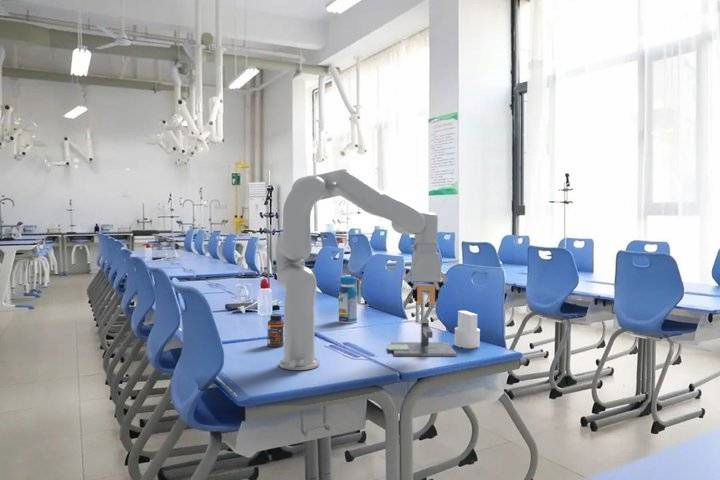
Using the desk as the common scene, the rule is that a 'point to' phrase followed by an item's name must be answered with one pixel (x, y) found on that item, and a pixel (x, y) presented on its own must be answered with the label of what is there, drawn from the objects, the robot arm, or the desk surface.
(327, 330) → the desk surface
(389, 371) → the desk surface
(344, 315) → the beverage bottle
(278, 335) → the supplement bottle
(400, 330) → the desk surface
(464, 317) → the cylinder with rectangular tab
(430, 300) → the orange staple
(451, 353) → the stand
